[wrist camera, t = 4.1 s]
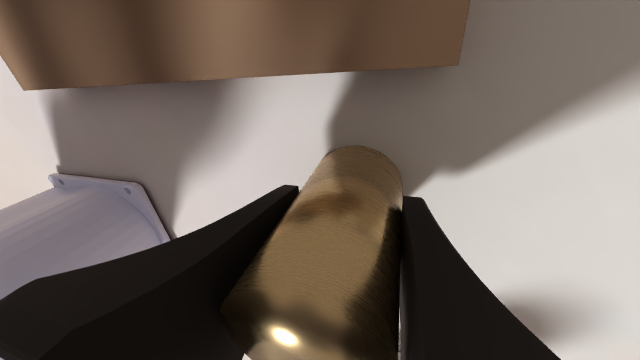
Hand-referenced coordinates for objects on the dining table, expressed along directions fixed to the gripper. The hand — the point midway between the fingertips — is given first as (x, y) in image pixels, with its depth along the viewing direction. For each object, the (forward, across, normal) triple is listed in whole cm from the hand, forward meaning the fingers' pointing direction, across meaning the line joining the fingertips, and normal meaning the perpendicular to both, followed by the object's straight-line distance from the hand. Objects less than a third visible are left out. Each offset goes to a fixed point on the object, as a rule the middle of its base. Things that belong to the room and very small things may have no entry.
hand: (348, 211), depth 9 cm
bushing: (+2, 0, 0) cm, 2 cm away
